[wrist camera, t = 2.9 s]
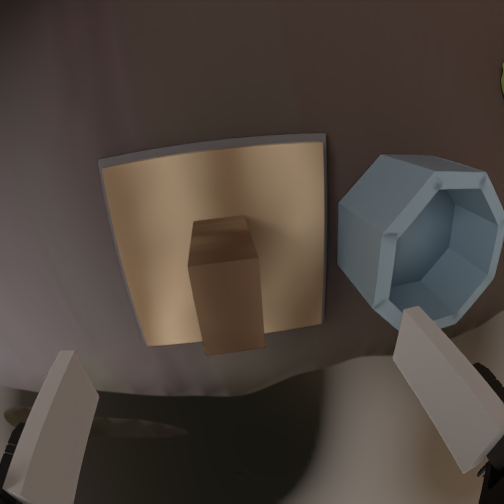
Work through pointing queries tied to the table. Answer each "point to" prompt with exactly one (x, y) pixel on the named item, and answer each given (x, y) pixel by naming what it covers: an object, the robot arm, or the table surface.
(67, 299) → the table surface
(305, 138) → the charcoal mat
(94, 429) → the table surface
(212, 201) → the oak board
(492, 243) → the slate-blue bowl
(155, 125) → the table surface
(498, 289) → the table surface
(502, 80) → the plant pot
